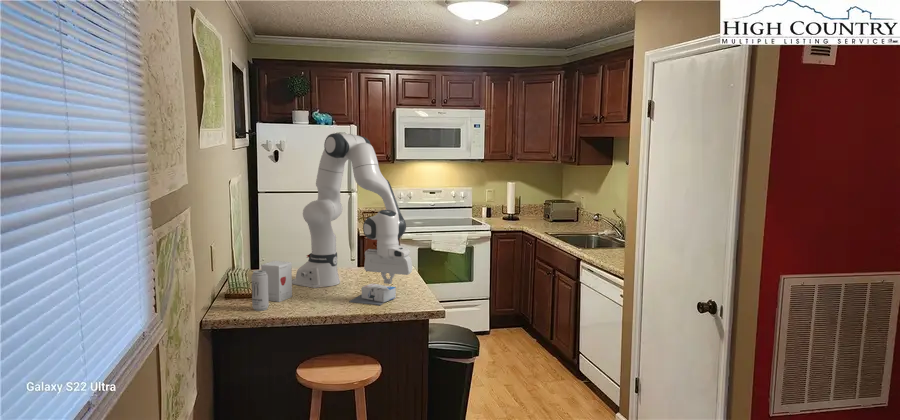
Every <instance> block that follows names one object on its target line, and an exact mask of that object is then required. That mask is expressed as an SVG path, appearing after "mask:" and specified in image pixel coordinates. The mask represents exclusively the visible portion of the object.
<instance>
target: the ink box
mask: <svg viewBox="0 0 900 420" xmlns="http://www.w3.org/2000/svg"><path fill="white" fill-rule="evenodd" d="M396 290H397V288H396V286H391V285H384V284H379V283H378V284H377V283H369V284H367V285H363V286H362V287H361V294H362V298H364V299H369V300H374V301H379V302H385V303H387V302H389V301H391V300H394V299H396V296H397V295H396V294H397V291H396ZM386 301H387V302H386Z"/></svg>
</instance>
